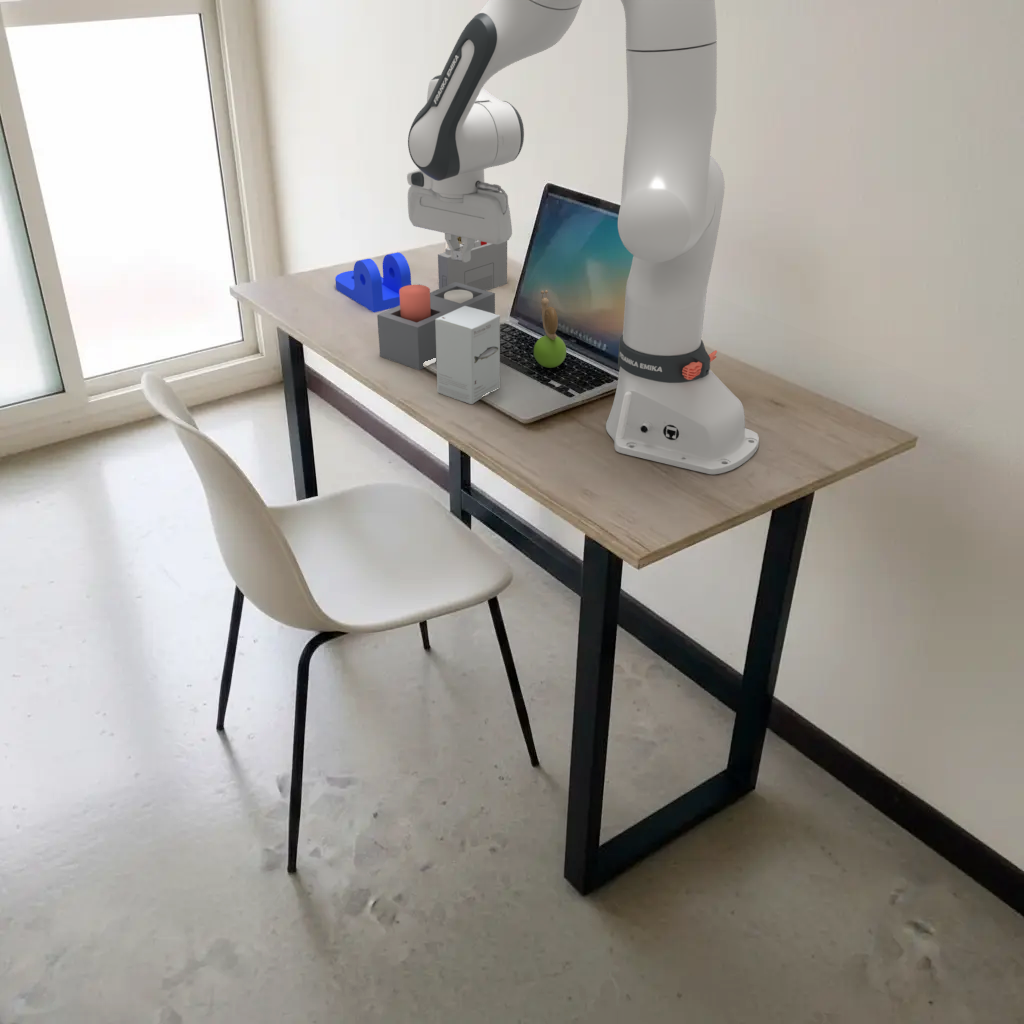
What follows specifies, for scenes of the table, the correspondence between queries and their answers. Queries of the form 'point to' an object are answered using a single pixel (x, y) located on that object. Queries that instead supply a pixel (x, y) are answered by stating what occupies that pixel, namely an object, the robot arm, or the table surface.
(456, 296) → the plug
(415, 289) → the red plug
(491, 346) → the supplement box
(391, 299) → the bracket
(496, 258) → the cassette player
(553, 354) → the snail figurine
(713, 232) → the robot arm
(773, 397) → the table surface
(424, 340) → the block
